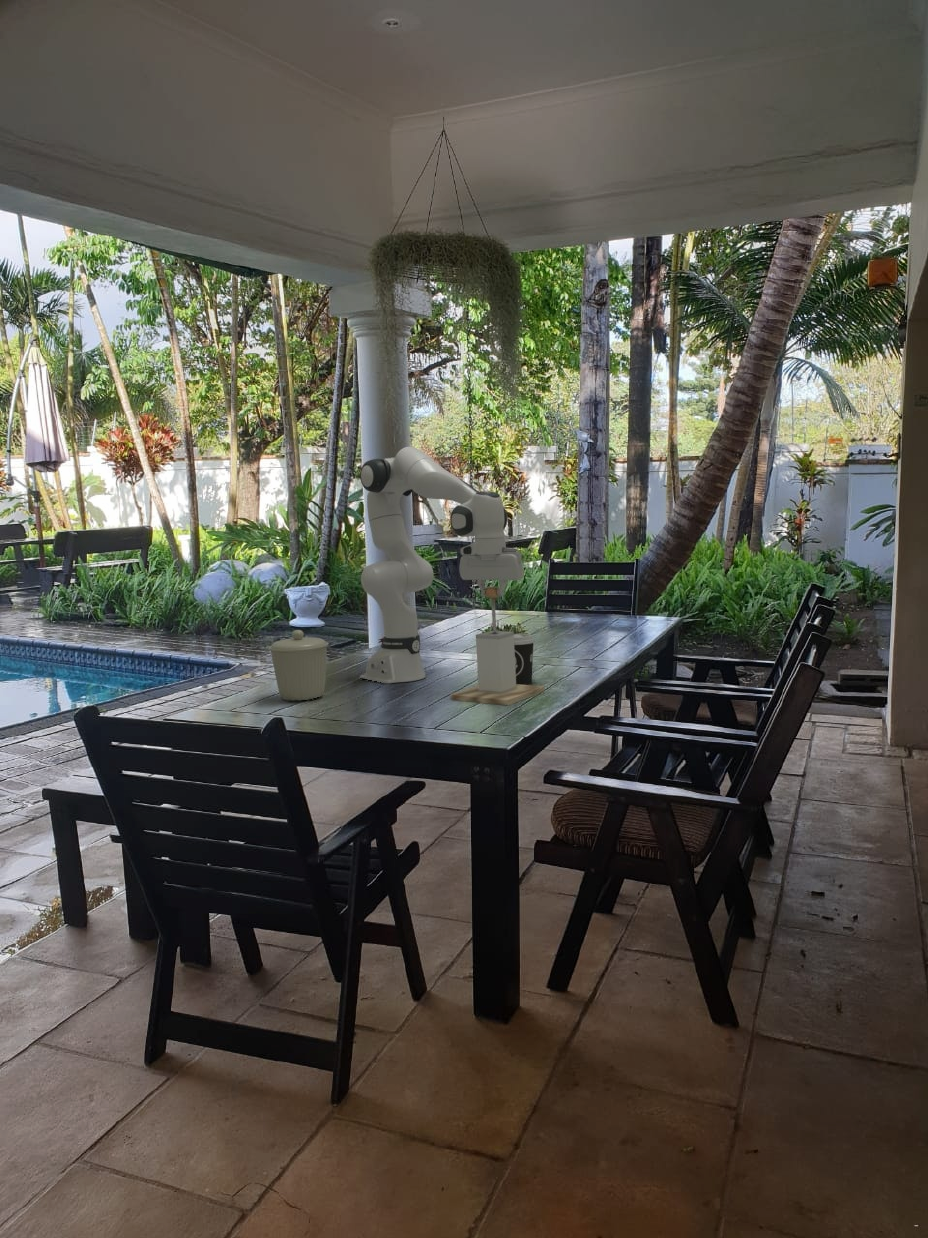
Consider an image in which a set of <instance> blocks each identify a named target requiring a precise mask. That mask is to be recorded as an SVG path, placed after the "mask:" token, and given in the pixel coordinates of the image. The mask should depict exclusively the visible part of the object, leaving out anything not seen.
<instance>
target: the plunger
mask: <svg viewBox="0 0 928 1238" xmlns="http://www.w3.org/2000/svg"><path fill="white" fill-rule="evenodd" d="M485 587H486V596H485V598H486V599H490V600H491V621H492V631H493V634H496V631H497V616H496V600H495V599H498V598H500V597H501V596H497V590H499V588H500V586H485Z"/></svg>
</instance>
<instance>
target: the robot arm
mask: <svg viewBox="0 0 928 1238" xmlns="http://www.w3.org/2000/svg"><path fill="white" fill-rule="evenodd" d="M359 478H360V483H361V485H362V487H363V488H364V489H365V490H366V491H368V493H367V496H366V502H367V503H366V507H367V509H366V510H367V515H368V516H367V517H368V523H369V528H370V532H371V537H372V542H373V545H374V546H375V548H377V549H378V550H380V551H382V552H384V553H385V554H386V555H387V556H388V558H389V559H390V560H386V561H378V562H375V563H372V564H368V565H366V566H365V567H364V568H363V570H362V572H361V575H360V583H361V587H362V589H363V590H364V592H365V593H366V594H368V595H369V596H370V597H372V599H374V600H375V602H376V603H377V605H378V607H379V609H380V612H381V614H382V621H383V623H382V624H383V634H384V636H383V637H382V638H379V639H378V643H379V644H380V643H381V645H380V648H379V649H377V651H376V652H375V653H374V654H373V655H372V656H370V658H368V659H367V661H366V665H365V666H366V668H365V670H366V671H365V673H362V674H360V675H359V679H360V678H365V679H368V680H372V681H371V682H374V681H377V682H376V683H380V682H381V683H382V684H392V683H393V684H394V683H406V682H414V681H420V680H422V679H424V678H426V677H427V675H426V672H425V670H424V667H423V663H422V662H423V661H422V657H421V650H420V649H421V638H420V636H421V635H420V634H419V625H418V622H419V621H418V613H417V611H416V610H415V608H414V607H412V606H411V605H408V604H406V603H405V601H404V599H403V594H407V593H416V592H420V591H422V590H425V589H427V588H429V587H430V586H431V585H432V583H433V581H434V569H433V567H432V565H431V563H430V562H429V561H428V560H426V559H425V558H423V557H422V556H421V555H420V554H419V553H418V552H417V551H416V550H415V549H414V546H413V545H412V543H411V542H410V539H409V537H408V533H407V530H406V525H405V521H404V516H403V511H402V509H401V503H400V502H401V498H402V495H403V496H405V497H409V496H410V495H411V494H412V493H413V492H414V493H416V494H417V495H419V496H421V497H423V498H425V499H431V500H433V499H434V500H443V501H444V500H445V501H452V502H456V503H459V505H456V506H455V507H454V508H453V509H452V510H451V513H450V518H449V523H450V528H451V530H452V531H453V533H454V534H455V535H457V536H458V537H464V538H465V537H468V538H469V537H474V542H473V543H471V544H468V545H466V546H463V547H461V548H460V555H462V556H461V557H460V561H459V575H460V578H461V579H462V580H463V581H477V586H478V587H479V589H480V594H481V595H480V596H485V597H486V587H487V586H486V585H485V583H486V581H498V583H499V585H500V586H499V590H497V596H500V597H503V596H505V590H506V587H507V585H508V581H521V580H522V579H523V578H524V577H525V570H524V564H523V554H522V551H521V550H520V549H518V548H517V547H507V546H506V545H507V544H506V543H507V542H506V534H505V531H504V530H505V529H506V526H507V525H508V522H509V521H508V520H509V518H508V512H507V510H506V508H505V507H504V503H503V499H502V497H501V495H500V494H499V493H498V492H494V491H487V490H481V491H478V490H477V489H476V488H474V486H472V485H470V484H469V483H467V482H466V481H464V480H463V479H461V478H459V477H457V476H456V475H454V474H453V473H451V472H450V471H448V470H446V469H445V468H444V467H442V466H441V465H440V464H438V463H437V462H436V461H435V460H434V459H433V458H432V457H431V456H429V455H428V454H427V453H425V452H423V450H420V449H419V448H417V447H415V446H406V447H403V448H401V449H400V450H398V452H397V453H396V454H395V457H387V458H373V459H369V460H367V461H365V462H364V463H363V464H362V466H361V468H360V473H359ZM368 680H367V681H368Z"/></svg>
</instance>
